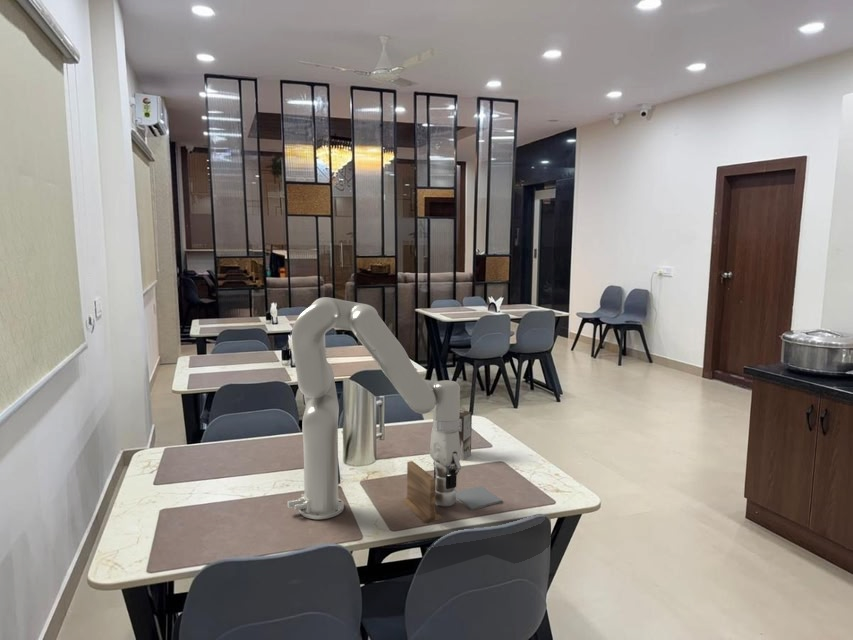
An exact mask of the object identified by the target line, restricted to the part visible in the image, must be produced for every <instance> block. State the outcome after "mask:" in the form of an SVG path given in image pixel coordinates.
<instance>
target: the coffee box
mask: <svg viewBox="0 0 853 640" xmlns="http://www.w3.org/2000/svg"><path fill="white" fill-rule="evenodd" d="M472 416H473V412H472V411H468V410H462V409H460V413H459V430H458V431H459V440H460V460H461V461H465V460H466V459H467V458H469V457H471V456H472V426H473V425H472V424H473V423H472V420H473V419H472V418H473V417H472Z"/></svg>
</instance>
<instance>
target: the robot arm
mask: <svg viewBox="0 0 853 640" xmlns="http://www.w3.org/2000/svg"><path fill="white" fill-rule="evenodd" d="M333 328H335V329H339V330H344V331H351V332H352V333H353V335H354V336H355V337H356V338H357V340H358V341H359V343H360V344H361V345H362V346H363V347H364V348H365V350H366V351H367V352H368V353H369V355H370V356H371V358H372V359H373V360H374V362H375V363H376V364H377V365H378V367H379V368H380V370H381V371H382V373H383V374H384V375H385V377H386V378H387V379H388V380H389V381H390V383H391V384H392V386H393V387H394V389H395V390H396V391H397V393H398V394H399V395H400V396H401V398H402V399H403V400H404V402H405V403H406V404H407V405H408V406H409V408H410V409H411V410H412V411H413V412H415V413H417V414H420V415H421V414H422V415H425V414H426V415H427V414H428V413H430V412H431V411H432V412H433V413H432V417H433V418H432V429H431V433H430V444H429V445H430V446H429V456H430V458H431V459H432V460H433V463H432V465H433V477H434V478H435V481H436V472H435V462H434V454H435V453H438V455H439V459H440V462H439V464H441V465H442V466H444V467H446V469H447V475H446V489H451V488H455V489H456V487H457V477H458V475H459V473H460V471H461V470H462V465H461V462H460V440H459V431H458V430H459V413H460V410H461V409H460V408H461V407H460V404H461V387H460V384H459V383H458V381H454V380H449V379H447V380H445V379H444V380H430V379H424V378H423V377H422V376H421V374H420V373H419V372H418V370H417V369H416V367H415V366H414V364H413V362H412V361H411V359H410V356H408V353H407V352H406V350H405V348H404V347H403V345H402V344H401V343H400V341H399V340H398V339H397V337H395V335H394V334H393V332H392V331H391V330H390V328H389V327H388V325H386V323H385V322H384V321H383V319H382V318H381V316H380V315H379V313H378V311H377V309H376V308H375V307H374V306H372V305H370V304H367V303H361V302H355V301H350V300H343V299H339V298H333V297H325V296H324V297H323V296H322V297H319V298H317V299H315V300H314V301H313V302H312V303H311V305H309V306H308V307H307V308H305V310H304V311H302V312H301V313H300V314H299V315H298V316H297V319H296V320H295V322H294V324H293V325H292V331H291V343H292V350H293V351H292V352H293V358H294V359H293V360H294V365H295V370H296V371H295V372H296V379H297V381H296V382H297V386H298V389H299V390H300V392H301V393H302V394H303V398H304V403H305V408H304V413H303V416H302V423H301V424H302V426H301V427H302V428H301V430H302V440H303V442H302V443H303V475H304V476H303V481H304V482H303V483H304V485H303V487H304V493H301V494H300V495H301V497H298V499H291V500H288V501H287V503H286V504H287V508H288V509H291V508H294V511H298V512H299V513H300V515H301V516H303V517H304V518H307V519H311V520H326V519H332V518H334V517H336V516H338V515H340V514H341V513H343V511H344V508H345V503H344V501H343V500H342V499H341V498H339V413H340V411H339V409H340V405H339V400H338V393H337V387H336V383H335V382H336V381H335V376H334V371H333V367H332V366H331V364H330V363H329V362H328V361H327V356H326V355H327V354H326V347H325V342H324V338H325V335H326V333H328V332H329V331H330V330H332V329H333ZM451 461H453V463H454V464H451ZM451 466H453V469H452V470H451V471H450V467H451Z"/></svg>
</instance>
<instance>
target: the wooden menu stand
mask: <svg viewBox="0 0 853 640" xmlns="http://www.w3.org/2000/svg"><path fill="white" fill-rule="evenodd" d="M406 465H407V467H406V468H407V469H406V470H407V471H406V473H407V474H406V475H407V476H406V477H407V478H406V483H407V484H406V487H407V488H406V497H405V498H401V503H403V504H404V506H405V507H407V509H409V510H410V511H411V512H412V513H413V514H414V515H415V516H416V515H417V516H416V517H417V518H418V519H420V520H421V521H422V522H423V523H425V522H426V523H430V522H433V521H436V520H437V521H438V520H441V516H440V515H439V514H438V513H437V512H436V503H435V481H436V480H435V478H434V476H433V475H431V474H430V473H429V472H427V471H426V470H425V469H423V468H422V466H420V465H418V464H417V463H416V462H414V461H412V460H410V461H407V463H406Z"/></svg>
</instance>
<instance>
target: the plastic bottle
mask: <svg viewBox="0 0 853 640" xmlns="http://www.w3.org/2000/svg"><path fill="white" fill-rule="evenodd" d="M433 462H435V466H434V467H435V472H436V480H435V505H438V506H439V507H451V506H453V505H454V504H455V503H456V500H457V499H456V492H457V491H456V487H455V488H451V489H446V475H447V469H446V467H444V466H442V465H441V464H439V462H440V459H439V455H438V453H435V454H434V460H433ZM451 464H454V463H453V461H451ZM452 469H453V466H451V467H450V471H451V470H452Z"/></svg>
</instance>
